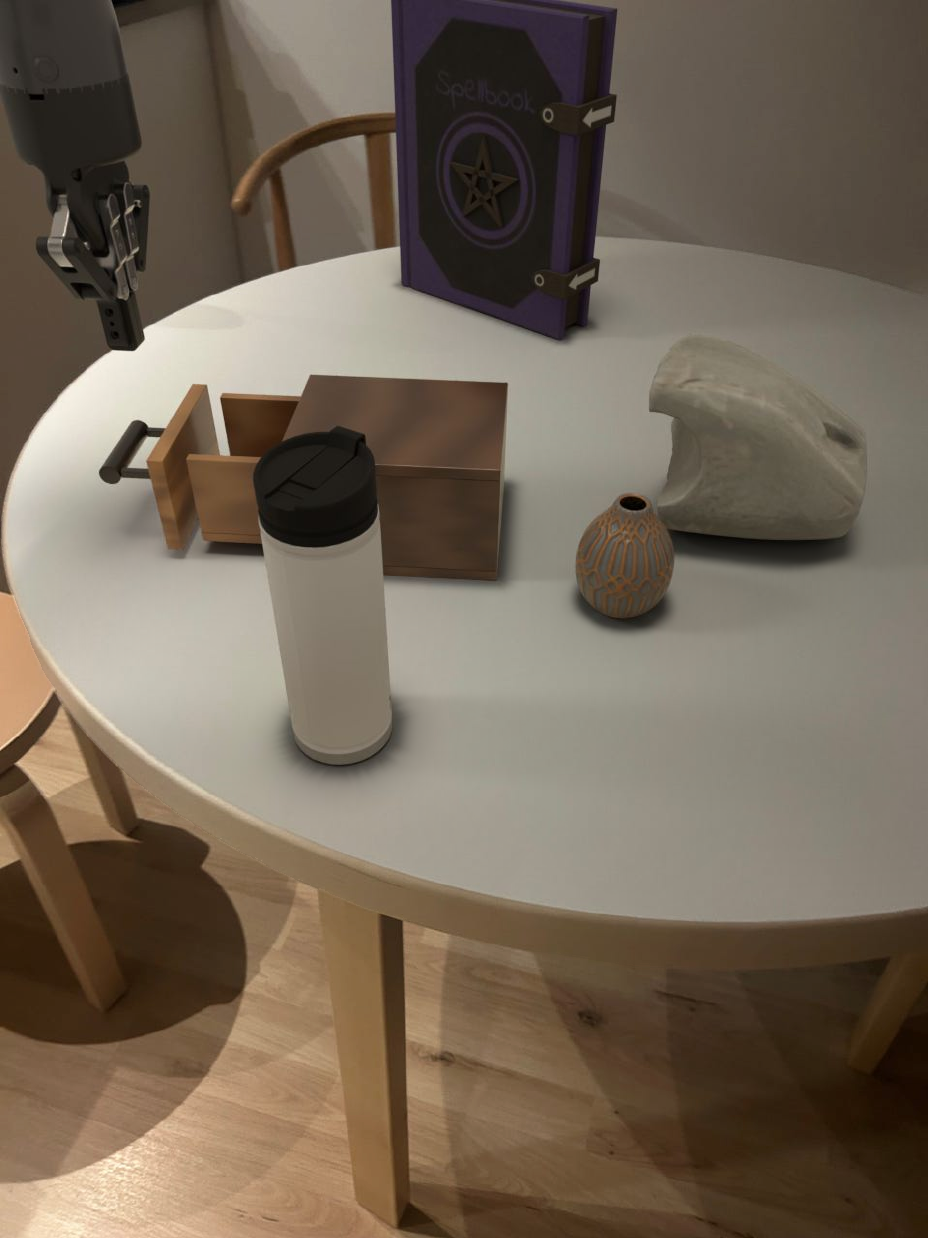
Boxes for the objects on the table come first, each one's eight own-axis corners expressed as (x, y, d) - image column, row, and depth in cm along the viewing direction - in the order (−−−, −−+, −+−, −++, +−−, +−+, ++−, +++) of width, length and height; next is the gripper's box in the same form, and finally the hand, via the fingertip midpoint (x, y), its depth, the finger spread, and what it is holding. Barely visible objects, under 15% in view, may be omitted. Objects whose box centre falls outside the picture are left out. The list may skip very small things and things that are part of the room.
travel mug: (414, 713, 62) (403, 443, 49) (355, 782, 58) (325, 506, 45) (336, 678, 64) (305, 411, 51) (273, 741, 60) (222, 469, 47)
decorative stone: (854, 578, 73) (917, 400, 63) (626, 554, 75) (652, 378, 65) (834, 490, 82) (887, 322, 72) (631, 471, 84) (655, 305, 74)
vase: (666, 637, 68) (685, 537, 62) (568, 626, 68) (578, 526, 63) (666, 577, 73) (684, 479, 67) (575, 567, 74) (585, 470, 68)
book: (399, 286, 114) (387, -13, 94) (433, 270, 118) (429, -21, 98) (560, 343, 103) (586, 17, 83) (593, 324, 106) (625, 8, 87)
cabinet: (289, 570, 73) (273, 459, 67) (321, 478, 83) (309, 373, 76) (496, 581, 72) (500, 470, 66) (503, 487, 82) (508, 382, 75)
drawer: (103, 545, 74) (77, 457, 68) (151, 464, 82) (131, 380, 77) (356, 559, 73) (348, 470, 67) (378, 475, 81) (372, 391, 76)
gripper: (50, 48, 62) (113, 308, 73) (-57, 91, 52) (34, 385, 63) (162, 50, 62) (208, 312, 73) (74, 94, 52) (143, 391, 63)
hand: (127, 346), depth 68 cm, fingers closed
